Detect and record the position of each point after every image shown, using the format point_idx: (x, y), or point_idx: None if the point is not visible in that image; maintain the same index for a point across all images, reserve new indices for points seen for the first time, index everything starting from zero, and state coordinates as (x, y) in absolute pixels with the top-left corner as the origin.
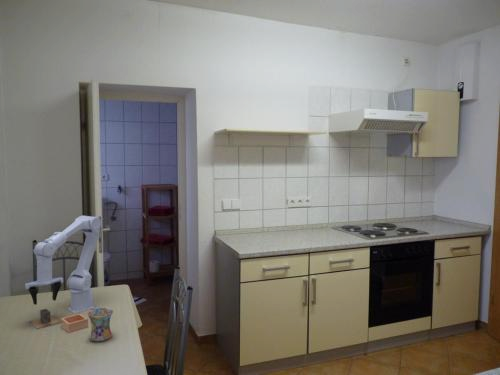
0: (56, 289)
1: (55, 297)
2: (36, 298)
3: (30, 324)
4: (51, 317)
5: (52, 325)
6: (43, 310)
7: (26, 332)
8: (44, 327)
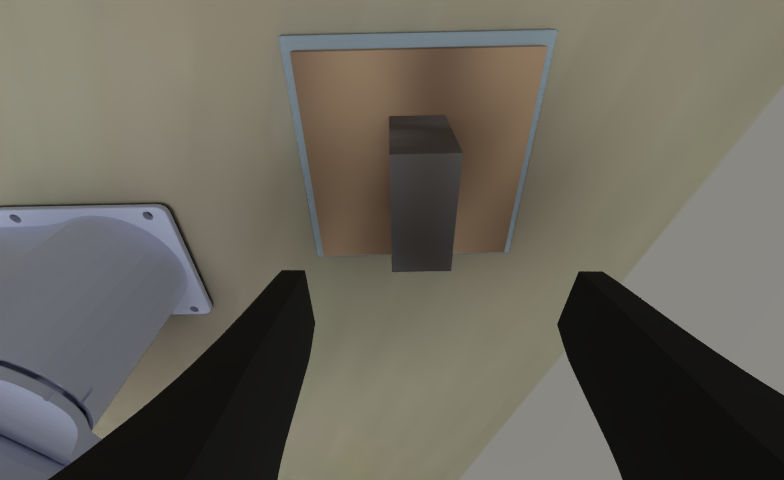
0: (155, 478)
1: (271, 300)
2: (666, 347)
3: (515, 201)
4: (351, 212)
5: (393, 40)
6: (430, 245)
7: (613, 74)
8: (471, 43)
